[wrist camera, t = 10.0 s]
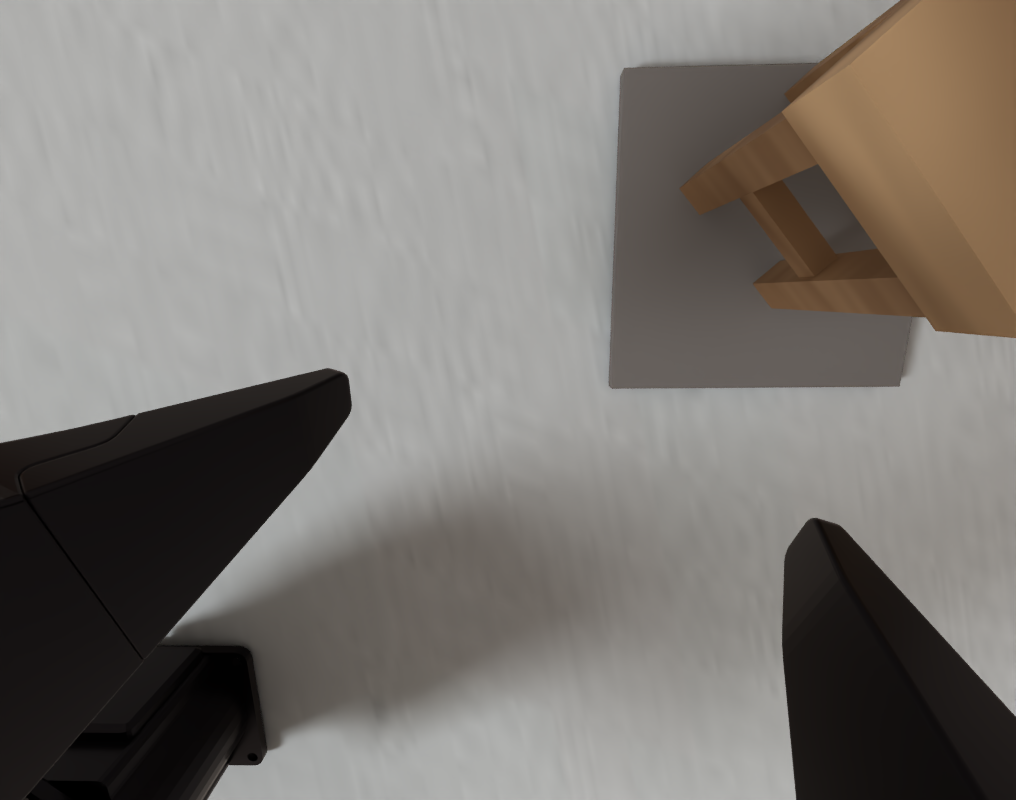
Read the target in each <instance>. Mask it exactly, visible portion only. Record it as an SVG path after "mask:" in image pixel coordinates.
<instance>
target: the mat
mask: <svg viewBox="0 0 1016 800" xmlns="http://www.w3.org/2000/svg"><path fill="white" fill-rule="evenodd" d="M817 64H818V63H806V64H765V65H724V66H683V67H642V68H624V70H623V72H622V74H621V76H620V102H619V129H618V155H617V181H616V208H615V234H614V261H613V287H612V313H611V340H610V366H609V386H610V387H611V388H612V389H619V388H755V387H891V386H900V381H901V375H902V370H903V365H904V359H905V354H906V348H907V343H908V337H909V332H910V326H911V321H912V317H911V316H894V315H876V314H859V313H842V312H825V311H808V310H791V309H774V308H771V307H770V306H769V305H768V303H767V302H766V301H765V299H764V298H763V297H762V296H761V294H760V293H759V292H758V290H757V289H756V288H755V286H754V285H753V283H754V282H755V281H756V280H757V279H759V278H760V277H761V276H762V275H763V274H765V273H766V272H767V271H768V270H769V269H771V268H772V267H773V266H774V265H775V264H777V263H778V262H779V261H783V260H785V258H784V257H783V255H782V254H781V253H780V251H779V250H778V249H777V247H776V246H775V245H774V243H773V242H772V241H771V239H770V238H769V237H768V235H767V234H766V233H765V231H764V230H763V229H762V227H761V226H760V225H759V223H758V222H757V221H756V219H755V218H754V217H753V215H752V214H751V213H750V211H749V210H748V209H747V207H746V206H745V205H744V203H743V202H742V201H741V199H740V198H738V199H736V200H734V201H731V202H729V203H727V204H724V205H722V206H720V207H718V208H715V209H713V210H711V211H708V212H706V213H704V214H701V215H699V214H698V212H697V211H696V210H695V208H694V207H693V206H692V204H691V203H690V202H689V201H688V199H687V198H686V197H685V195H684V194H683V193H682V191H681V190H680V189H679V188H680V187H681V186H682V185H684V184H685V183H686V182H687V181H688V180H689V179H690V178H691V177H692V176H694V175H695V174H696V173H697V172H698V171H699V170H700V169H701V168H702V167H704V166H705V165H706V164H707V163H708V162H710V161H711V160H713V159H714V158H716V157H717V156H718V155H720V154H721V153H723V152H724V151H726V150H727V149H729V148H730V147H731V146H733V145H734V144H736V143H737V142H739V141H740V140H742V139H743V138H744V137H746V136H747V135H749V134H750V133H752V132H753V131H755V130H756V129H758V128H759V127H760V126H762V125H763V124H765V123H766V122H768V121H769V120H771V119H772V118H773V117H775V116H776V115H778V114H779V113H781V112H782V111H783V110H784V109H785V108H786V107H787V106H788V105H790V104H791V103H790V102H789V100H788V99H787V97H786V96H785V95H784V93H786V92H787V91H788V90H789V89H790V88H791V87H792V86H793V85H794V84H796V83H797V82H798V81H799V80H800V79H801V78H802V77H803V76H804V75H806V74H807V73H808V72H809V71H810V70H811V69H812V68H813V67H814V66H816V65H817ZM782 180H783V182H784V183H785V184H786V186H787V187H788V189H789V190H790V191H791V193H792V194H793V196H794V197H795V198H796V200H797V201H798V202H799V204H800V205H801V207H802V208H803V209H804V211H805V212H806V214H807V215H808V216H809V218H810V219H811V220H812V222H813V223H814V225H815V226H816V227H817V229H818V230H819V232H820V233H821V234H822V236H823V237H824V238H825V240H826V241H827V243H828V244H829V245H830V247H831V248H832V249H833V251H834V252H835V254H839V253H847V252H855V251H863V250H871V249H878V248H877V247H876V246H875V244H874V243H873V241H872V240H871V238H870V237H869V236H868V234H867V233H866V231H865V230H864V228H863V227H862V226H861V224H860V223H859V221H858V220H857V219H856V217H855V216H854V214H853V213H852V211H851V210H850V209H849V207H848V206H847V204H846V203H845V201H844V200H843V199H842V197H841V196H840V194H839V193H838V192H837V190H836V189H835V187H834V186H833V184H832V183H831V182H830V180H829V179H828V177H827V176H826V174H825V173H824V172H823V170H822V169H821V167H820V166H819V165H818V164H817V165H815V166H812V167H810V168H808V169H805V170H803V171H801V172H798V173H796V174H794V175H791V176H789V177H787V178H785V179H782Z"/></svg>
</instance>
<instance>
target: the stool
mask: <svg viewBox="0 0 1016 800" xmlns="http://www.w3.org/2000/svg"><path fill="white" fill-rule="evenodd" d="M784 95H785V96H786V97H787V99H788V100H789V102H790V103H791V104H790V105H788V106H787V107H786V108H785V109H784V110H783V111H782V112H781V113H779V114H778V115H776V116H775V117H773V118H772V119H771V120H769V121H768V122H766V123H765V124H763V125H762V126H760V127H759V128H758V129H756V130H755V131H753V132H752V133H750V134H749V135H747V136H746V137H744V138H743V139H742V140H740V141H739V142H737V143H736V144H734V145H733V146H731V147H730V148H729V149H727V150H726V151H724V152H723V153H721V154H720V155H718V156H717V157H716V158H714V159H713V160H711V161H710V162H708V163H707V164H706V165H705V166H704V167H702V168H701V169H700V170H699V171H698V172H697V173H696V174H695V175H694V176H692V177H691V178H690V179H689V180H688V181H687V182H686V183H685V184H684V185H682V186H681V187H680V188H679V189H680V190H681V191H682V193H683V194H684V195H685V197H686V198H687V199H688V201H689V202H690V203H691V204H692V206H693V207H694V208H695V210H696V211H697V212H698V214H699V215H701V214H704V213H706V212H708V211H711V210H713V209H715V208H718V207H720V206H722V205H724V204H727V203H729V202H731V201H734V200H736V199H738V198H740V199H741V201H742V202H743V203H744V205H745V206H746V207H747V209H748V210H749V211H750V213H751V214H752V215H753V217H754V218H755V219H756V221H757V222H758V223H759V225H760V226H761V227H762V229H763V230H764V231H765V233H766V234H767V235H768V237H769V238H770V239H771V241H772V242H773V243H774V245H775V246H776V247H777V249H778V250H779V251H780V253H781V254H782V255H783V257H784V258H785V260H783V261H779V262H778V263H777V264H775V265H774V266H773V267H772V268H771V269H769V270H768V271H767V272H766V273H765V274H763V275H762V276H761V277H760V278H759V279H757V280H756V281H755V282H754V283H753V285H754V286H755V288H756V289H757V290H758V292H759V293H760V294H761V296H762V297H763V298H764V299H765V301H766V302H767V303H768V305H769V306H770V307H771V308H774V309H791V310H808V311H825V312H842V313H859V314H876V315H894V316H911V317H926V318H927V319H928V321H929V322H930V324H931V325H932V327H933V328H934V329H935V331H943V332H954V333H965V334H976V335H987V336H999V337H1010V338H1016V0H900V1H899V2H898V3H896V4H895V5H894V6H893V7H891V8H890V9H889V10H887V11H886V12H885V13H883V14H882V15H881V16H879V17H878V18H877V19H876V20H874V21H873V22H872V23H870V24H869V25H868V26H866V27H865V28H864V29H863V30H861V31H860V32H859V33H857V34H856V35H855V36H853V37H852V38H851V39H850V40H848V41H847V42H846V43H844V44H843V45H842V46H840V47H839V48H838V49H837V50H835V51H834V52H833V53H831V54H830V55H829V56H827V57H826V58H825V59H823V60H822V61H821V62H820V63H818V64H817V65H816V66H814V67H813V68H812V69H811V70H810V71H809V72H808V73H807V74H806V75H804V76H803V77H802V78H801V79H800V80H799V81H798V82H797V83H796V84H794V85H793V86H792V87H791V88H790V89H789V90H788V91H787V92H786V93H784ZM817 164H818V165H819V166H820V167H821V169H822V170H823V172H824V173H825V174H826V176H827V177H828V179H829V180H830V182H831V183H832V184H833V186H834V187H835V189H836V190H837V192H838V193H839V194H840V196H841V197H842V199H843V200H844V201H845V203H846V204H847V206H848V207H849V209H850V210H851V211H852V213H853V214H854V216H855V217H856V219H857V220H858V221H859V223H860V224H861V226H862V227H863V228H864V230H865V231H866V233H867V234H868V236H869V237H870V238H871V240H872V241H873V243H874V244H875V246H876V247H877V248H878V249H871V250H863V251H855V252H847V253H839V254H835V252H834V251H833V249H832V248H831V247H830V245H829V244H828V243H827V241H826V240H825V238H824V237H823V236H822V234H821V233H820V232H819V230H818V229H817V227H816V226H815V225H814V223H813V222H812V220H811V219H810V218H809V216H808V215H807V214H806V212H805V211H804V209H803V208H802V207H801V205H800V204H799V202H798V201H797V200H796V198H795V197H794V196H793V194H792V193H791V191H790V190H789V189H788V187H787V186H786V184H785V183H784V182H783V180H782V179H785V178H787V177H789V176H791V175H794V174H796V173H798V172H801V171H803V170H805V169H808V168H810V167H812V166H815V165H817Z"/></svg>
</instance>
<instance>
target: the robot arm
mask: <svg viewBox="0 0 1016 800" xmlns="http://www.w3.org/2000/svg"><path fill="white" fill-rule="evenodd" d="M351 407H352V402H351V394H350V385H349V379H348V376H347V375H346V374H345V373H343V372H340V371H337V370H334V369H330V368H326V369H322V370H318V371H313V372H309V373H305V374H301V375H297V376H293V377H288V378H284V379H280V380H276V381H272V382H268V383H263V384H259V385H255V386H251V387H247V388H243V389H238V390H234V391H230V392H226V393H222V394H218V395H213V396H209V397H205V398H201V399H197V400H192V401H188V402H184V403H180V404H176V405H172V406H167V407H163V408H159V409H155V410H151V411H147V412H142V413H139V414H137V415H136V416H135V415H129V416H125V417H121V418H117V419H113V420H109V421H104V422H100V423H95V424H91V425H87V426H82V427H78V428H73V429H68V430H64V431H59V432H54V433H49V434H44V435H39V436H34V437H29V438H24V439H19V440H13V441H8V442H3V443H0V800H207V799H208V797H209V796H210V794H211V793H212V791H213V789H214V788H215V786H216V784H217V783H218V781H219V780H220V778H221V776H222V775H223V773H224V771H225V770H226V768H227V767H228V765H258V764H260V763H261V762H262V760H263V758H264V757H265V755H266V753H267V746H266V740H265V734H264V728H263V722H262V715H261V709H260V703H259V697H258V691H257V685H256V678H255V672H254V666H253V660H252V655H251V652H250V651H249V650H248V649H247V648H245V647H241V646H157V645H158V644H159V643H160V642H161V641H162V640H163V639H164V637H165V636H166V635H167V634H168V633H169V632H170V630H171V629H172V628H173V627H174V626H175V625H176V624H177V622H178V621H179V620H180V619H181V618H182V617H183V616H184V614H185V613H186V612H187V611H188V610H189V609H190V608H191V606H192V605H193V604H194V603H195V602H196V601H197V600H198V598H199V597H200V596H201V595H202V594H203V593H204V592H205V590H206V589H207V588H208V587H209V586H210V585H211V583H212V582H213V581H214V580H215V579H216V578H217V577H218V575H219V574H220V573H221V572H222V571H223V570H224V569H225V567H226V566H227V565H228V564H229V563H230V562H231V561H232V559H233V558H234V557H235V556H236V555H237V554H238V553H239V551H240V550H241V549H242V548H243V547H244V546H245V545H246V543H247V542H248V541H249V540H250V539H251V538H252V536H253V535H254V534H255V533H256V532H257V531H258V530H259V528H260V527H261V526H262V525H263V524H264V523H265V522H266V520H267V519H268V518H269V517H270V516H271V515H272V514H273V512H274V511H275V510H276V509H277V508H278V507H279V506H280V504H281V503H282V502H283V501H284V500H285V499H286V498H287V496H288V495H289V494H290V493H291V492H292V491H293V489H294V488H295V487H296V486H297V485H298V484H299V483H300V481H301V480H302V479H303V478H304V477H305V476H306V474H307V473H308V472H309V471H310V470H311V468H312V467H313V465H314V464H315V463H316V462H317V460H318V459H319V457H320V456H321V454H322V453H323V452H324V450H325V449H326V447H327V446H328V445H329V443H330V442H331V440H332V439H333V437H334V436H335V435H336V433H337V432H338V430H339V429H340V427H341V426H342V425H343V423H344V422H345V420H346V419H347V418H348V416H349V414H350V412H351ZM782 649H783V663H784V674H785V684H786V695H787V706H788V716H789V727H790V738H791V748H792V759H793V769H794V780H795V791H796V800H1016V716H1015V715H1014V714H1013V713H1012V712H1011V711H1010V710H1009V709H1008V708H1007V707H1006V706H1005V704H1004V703H1003V702H1002V701H1001V700H1000V699H999V698H998V697H997V696H996V695H995V694H994V692H993V691H992V690H991V689H990V688H989V687H988V686H987V685H986V684H985V683H984V682H983V680H982V679H981V678H980V677H979V676H978V675H977V674H976V673H975V672H974V671H973V670H972V668H971V667H970V666H969V665H968V664H967V663H966V662H965V661H964V660H963V659H962V657H961V656H960V655H959V654H958V653H957V652H956V651H955V650H954V649H953V648H952V647H951V645H950V644H949V643H948V642H947V641H946V640H945V639H944V638H943V637H942V636H941V635H940V633H939V632H938V631H937V630H936V629H935V628H934V627H933V626H932V625H931V624H930V623H929V621H928V620H927V619H926V618H925V617H924V616H923V615H922V614H921V613H920V612H919V611H918V609H917V608H916V607H915V606H914V605H913V604H912V603H911V602H910V601H909V600H908V598H907V597H906V596H905V595H904V594H903V593H902V592H901V591H900V590H899V589H898V588H897V586H896V585H895V584H894V583H893V582H892V581H891V580H890V579H889V578H888V577H887V576H886V574H885V573H884V572H883V571H882V570H881V569H880V568H879V567H878V566H877V565H876V564H875V562H874V561H873V560H872V559H871V558H870V557H869V556H868V555H867V554H866V553H865V552H864V550H863V549H862V548H861V547H860V546H859V545H858V544H857V543H856V542H855V541H854V539H853V538H852V537H851V536H850V535H849V534H848V533H847V532H846V531H845V530H844V529H843V528H842V527H841V526H840V525H838V524H835V523H832V522H828V521H825V520H822V519H818V518H811V519H809V520H808V521H807V522H806V523H805V525H804V526H803V527H802V529H801V530H800V532H799V533H798V534H797V536H796V537H795V539H794V540H793V542H792V543H791V544H790V546H789V547H788V549H787V552H786V555H785V561H784V591H783V622H782ZM238 658H239V659H238Z"/></svg>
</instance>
